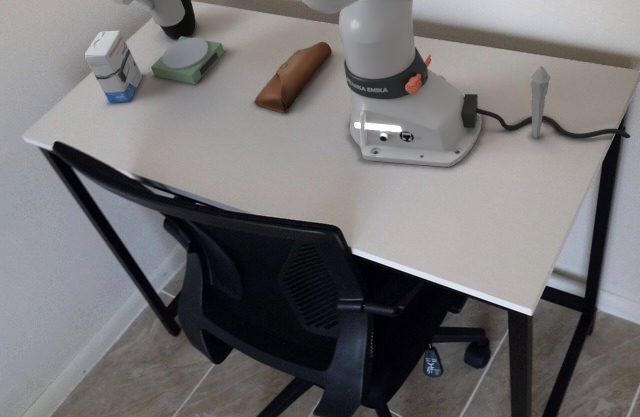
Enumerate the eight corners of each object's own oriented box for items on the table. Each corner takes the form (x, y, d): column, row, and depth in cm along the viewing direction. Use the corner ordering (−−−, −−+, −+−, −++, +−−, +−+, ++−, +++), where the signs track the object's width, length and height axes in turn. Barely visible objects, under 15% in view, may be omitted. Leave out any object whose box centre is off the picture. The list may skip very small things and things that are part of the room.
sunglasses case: (297, 48, 132) (305, 26, 127) (325, 66, 132) (335, 45, 127) (251, 104, 123) (257, 83, 118) (282, 124, 123) (290, 104, 118)
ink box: (130, 102, 132) (105, 54, 124) (108, 103, 133) (82, 56, 125) (143, 75, 138) (120, 28, 129) (122, 77, 139) (98, 30, 130)
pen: (535, 128, 106) (540, 58, 95) (548, 136, 104) (555, 65, 94) (524, 136, 105) (528, 66, 95) (537, 144, 103) (542, 74, 93)
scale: (225, 52, 137) (221, 40, 135) (196, 84, 132) (191, 73, 130) (184, 45, 142) (180, 33, 140) (154, 76, 137) (149, 64, 135)
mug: (209, 24, 146) (194, -16, 138) (181, 47, 142) (164, 6, 135) (173, 14, 152) (157, -26, 145) (146, 35, 148) (128, -4, 141)
